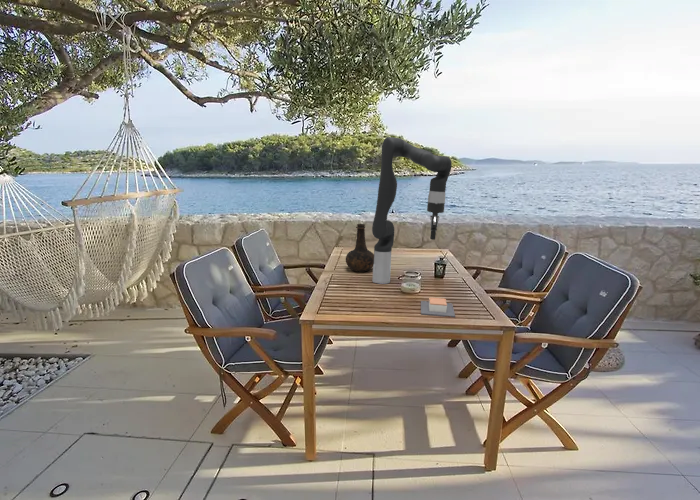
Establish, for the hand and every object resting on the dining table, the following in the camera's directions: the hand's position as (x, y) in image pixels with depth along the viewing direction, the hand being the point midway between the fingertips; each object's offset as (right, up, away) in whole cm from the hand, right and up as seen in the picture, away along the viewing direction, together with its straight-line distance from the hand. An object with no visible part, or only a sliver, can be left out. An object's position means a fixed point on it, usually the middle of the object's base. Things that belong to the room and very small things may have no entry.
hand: (432, 239), depth 178 cm
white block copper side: (+1, -28, -5) cm, 29 cm away
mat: (0, -31, -8) cm, 32 cm away
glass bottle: (-32, -17, +56) cm, 67 cm away
